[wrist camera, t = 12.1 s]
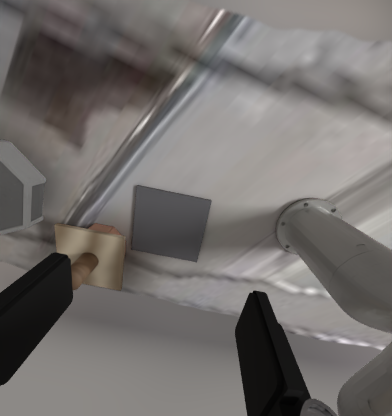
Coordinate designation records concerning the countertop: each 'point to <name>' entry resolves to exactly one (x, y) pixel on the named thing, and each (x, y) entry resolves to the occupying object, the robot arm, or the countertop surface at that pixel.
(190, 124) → the countertop surface
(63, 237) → the cover
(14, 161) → the first aid kit
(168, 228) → the mat
